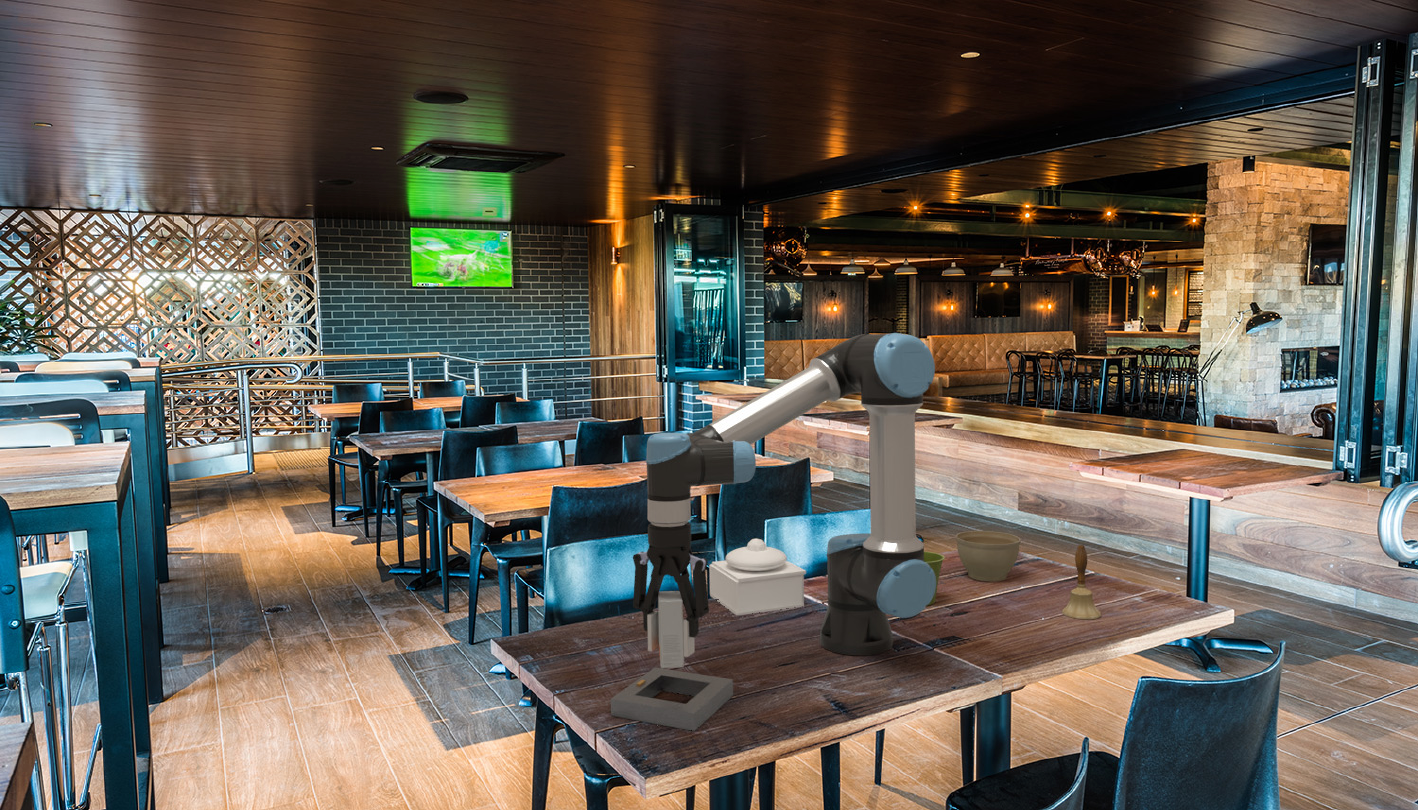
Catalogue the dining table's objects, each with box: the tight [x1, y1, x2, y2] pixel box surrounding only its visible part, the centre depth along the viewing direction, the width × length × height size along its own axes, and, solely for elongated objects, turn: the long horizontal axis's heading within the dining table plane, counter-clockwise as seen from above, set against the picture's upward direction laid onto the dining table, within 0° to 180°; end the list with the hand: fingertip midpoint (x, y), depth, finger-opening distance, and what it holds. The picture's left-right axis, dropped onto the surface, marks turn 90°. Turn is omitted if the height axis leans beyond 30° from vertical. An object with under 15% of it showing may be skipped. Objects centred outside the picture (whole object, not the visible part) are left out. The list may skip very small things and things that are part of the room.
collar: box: [610, 667, 734, 732], centre depth 161 cm, size 16×16×3 cm
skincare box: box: [657, 590, 685, 669], centre depth 160 cm, size 6×4×12 cm
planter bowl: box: [955, 530, 1021, 583], centre depth 239 cm, size 16×16×11 cm
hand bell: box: [1061, 544, 1102, 620], centre depth 207 cm, size 8×8×16 cm
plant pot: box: [924, 550, 946, 607], centre depth 219 cm, size 12×12×11 cm
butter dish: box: [709, 538, 807, 616], centre depth 223 cm, size 18×18×16 cm
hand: (671, 651), depth 161 cm, fingers closed on skincare box, 6 cm apart
